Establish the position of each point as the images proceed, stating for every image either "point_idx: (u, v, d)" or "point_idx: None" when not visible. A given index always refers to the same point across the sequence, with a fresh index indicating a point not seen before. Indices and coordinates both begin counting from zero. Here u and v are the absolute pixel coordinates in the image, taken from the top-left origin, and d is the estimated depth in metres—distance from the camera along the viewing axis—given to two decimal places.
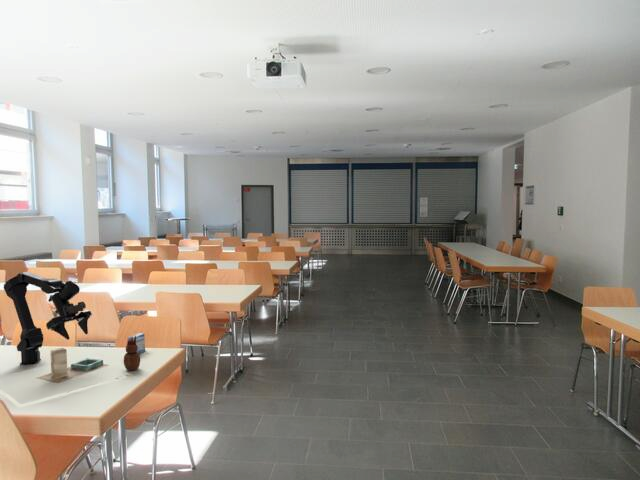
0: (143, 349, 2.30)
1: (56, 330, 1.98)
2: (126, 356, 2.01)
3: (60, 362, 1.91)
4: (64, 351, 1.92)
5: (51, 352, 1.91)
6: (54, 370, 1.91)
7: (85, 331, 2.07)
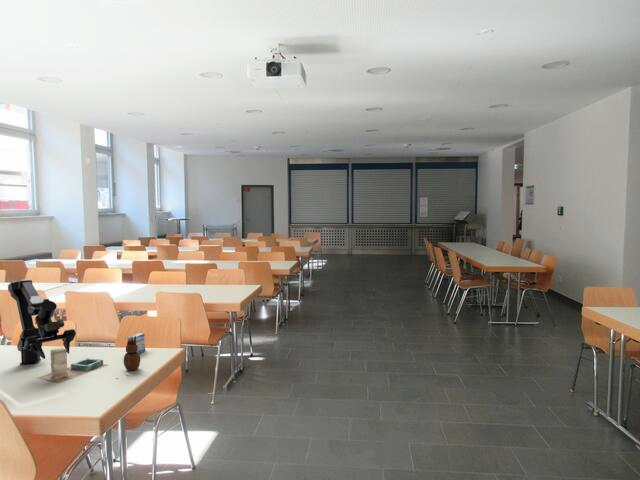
0: (143, 349, 2.30)
1: (34, 350, 1.92)
2: (126, 356, 2.01)
3: (60, 362, 1.91)
4: (64, 351, 1.92)
5: (51, 352, 1.91)
6: (54, 370, 1.91)
7: (67, 350, 1.98)
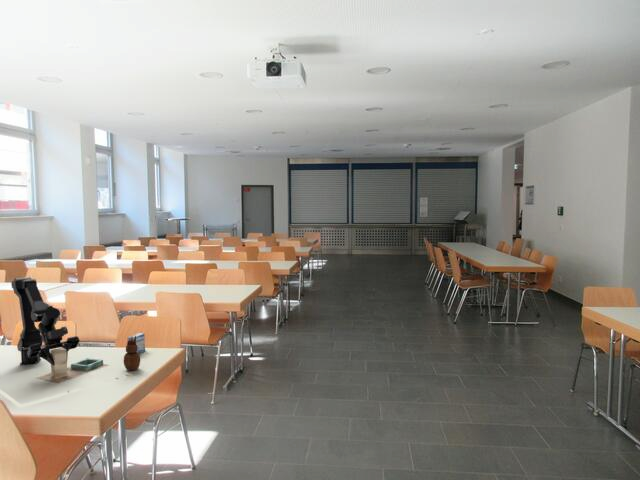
0: (143, 349, 2.30)
1: (43, 357, 1.92)
2: (126, 356, 2.01)
3: (60, 362, 1.91)
4: (64, 351, 1.92)
5: (51, 352, 1.91)
6: (54, 370, 1.91)
7: None
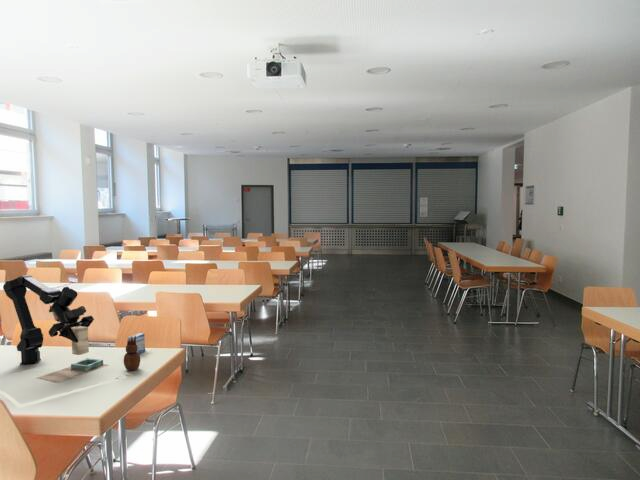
0: (143, 349, 2.30)
1: (64, 335, 1.99)
2: (126, 356, 2.01)
3: (83, 339, 2.00)
4: (86, 329, 2.01)
5: (73, 330, 1.99)
6: (77, 347, 1.99)
7: None
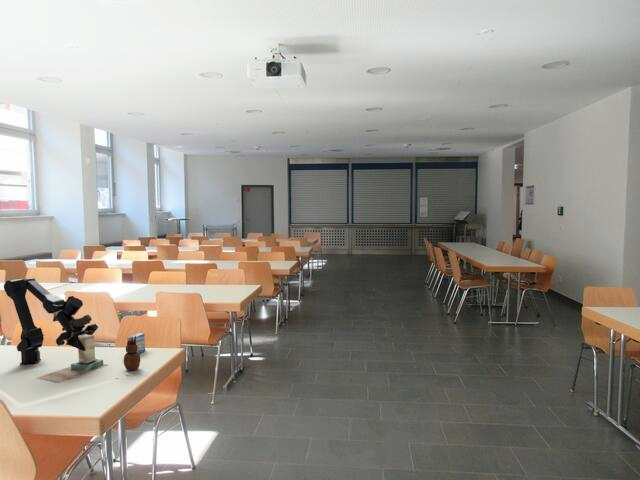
0: (143, 349, 2.30)
1: (71, 344, 2.01)
2: (126, 356, 2.01)
3: (90, 347, 2.03)
4: (92, 337, 2.05)
5: (80, 339, 2.02)
6: (84, 355, 2.02)
7: None
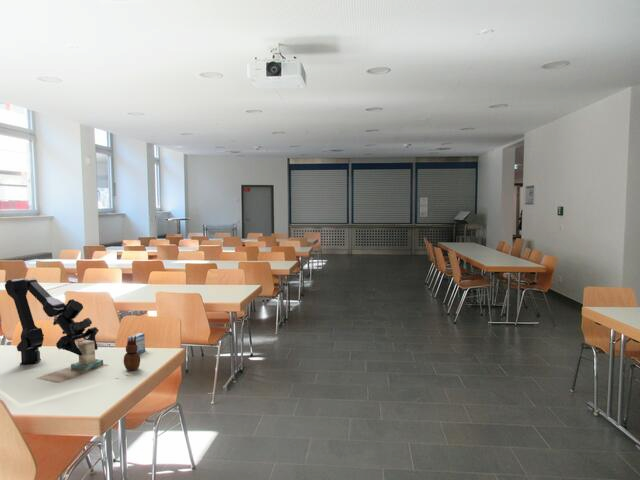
0: (143, 349, 2.30)
1: (67, 349, 2.00)
2: (126, 356, 2.01)
3: (90, 353, 2.03)
4: (93, 342, 2.05)
5: (80, 344, 2.02)
6: (84, 361, 2.02)
7: (95, 347, 2.08)
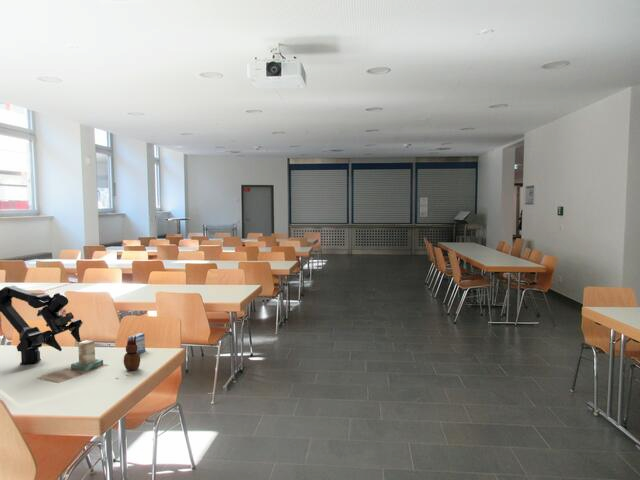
0: (143, 349, 2.30)
1: (48, 343, 2.04)
2: (126, 356, 2.01)
3: (90, 353, 2.03)
4: (93, 342, 2.05)
5: (80, 344, 2.02)
6: (84, 361, 2.02)
7: (78, 340, 2.12)
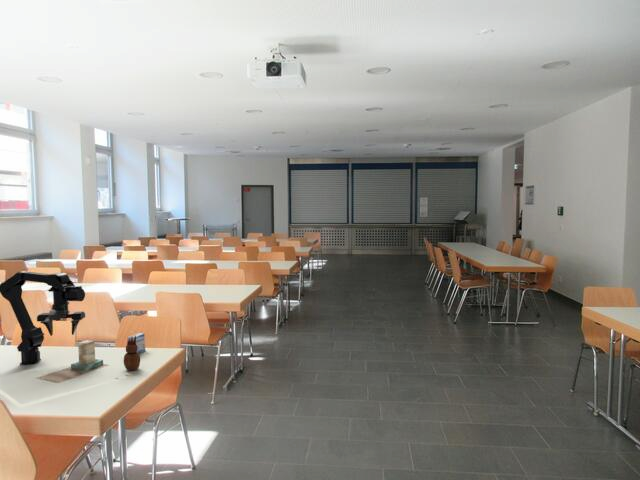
0: (143, 349, 2.30)
1: None
2: (126, 356, 2.01)
3: (90, 353, 2.03)
4: (93, 342, 2.05)
5: (80, 344, 2.02)
6: (84, 361, 2.02)
7: None
